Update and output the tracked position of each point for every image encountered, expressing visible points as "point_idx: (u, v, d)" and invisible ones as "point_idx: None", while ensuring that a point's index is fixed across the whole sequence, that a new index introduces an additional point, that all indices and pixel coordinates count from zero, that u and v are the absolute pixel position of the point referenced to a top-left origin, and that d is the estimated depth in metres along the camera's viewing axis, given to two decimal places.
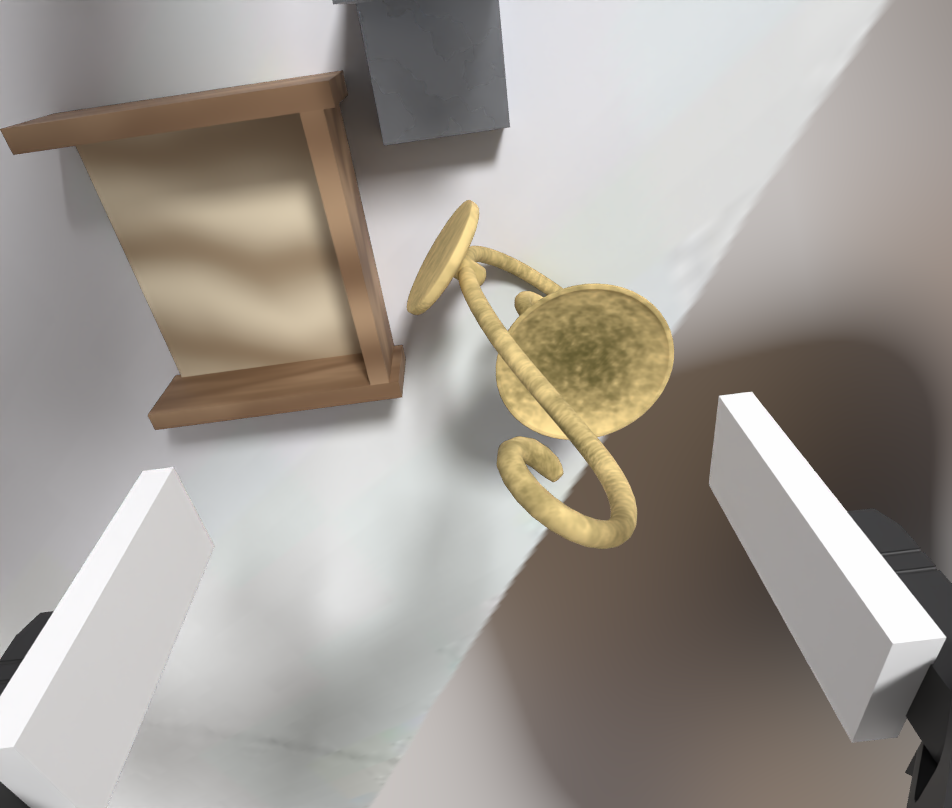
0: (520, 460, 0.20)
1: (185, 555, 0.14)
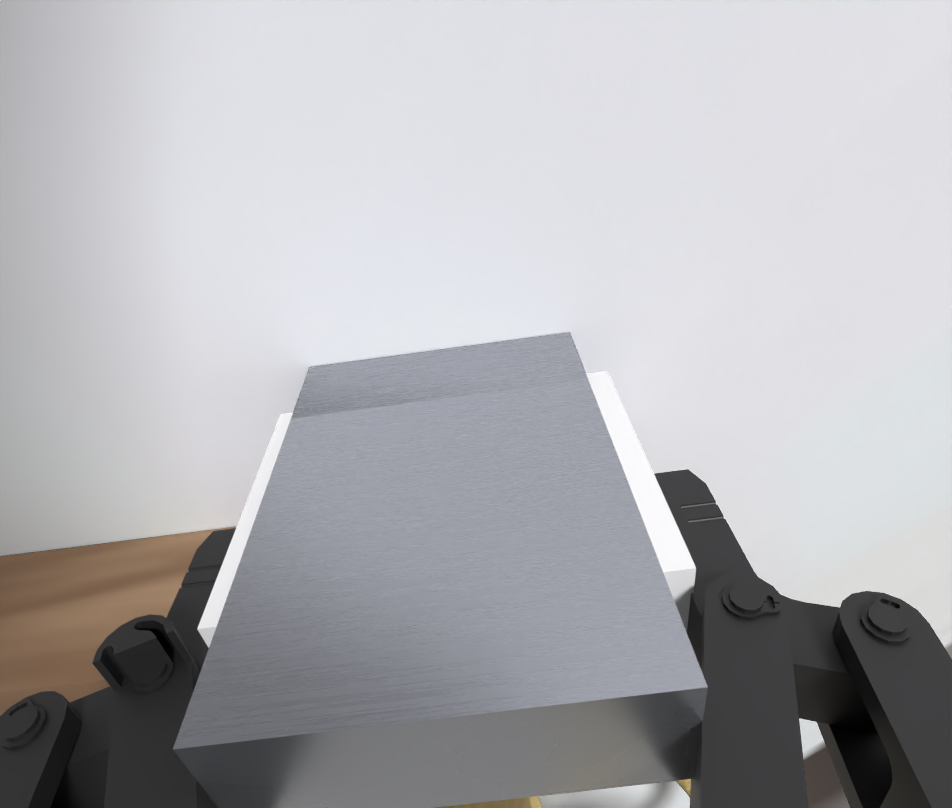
0: None
1: None
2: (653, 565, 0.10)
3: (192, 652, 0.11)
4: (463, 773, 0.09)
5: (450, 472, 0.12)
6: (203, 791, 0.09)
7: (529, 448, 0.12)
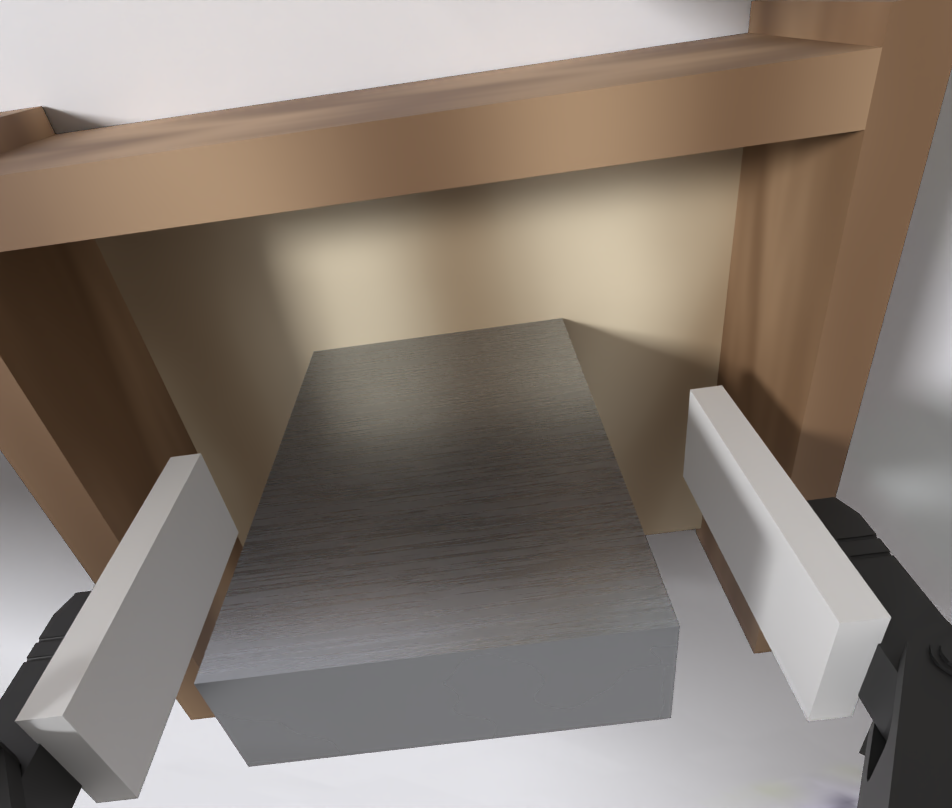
0: None
1: (212, 539, 0.15)
2: (634, 523, 0.10)
3: (17, 743, 0.10)
4: (458, 711, 0.10)
5: (447, 444, 0.13)
6: None
7: (521, 423, 0.13)
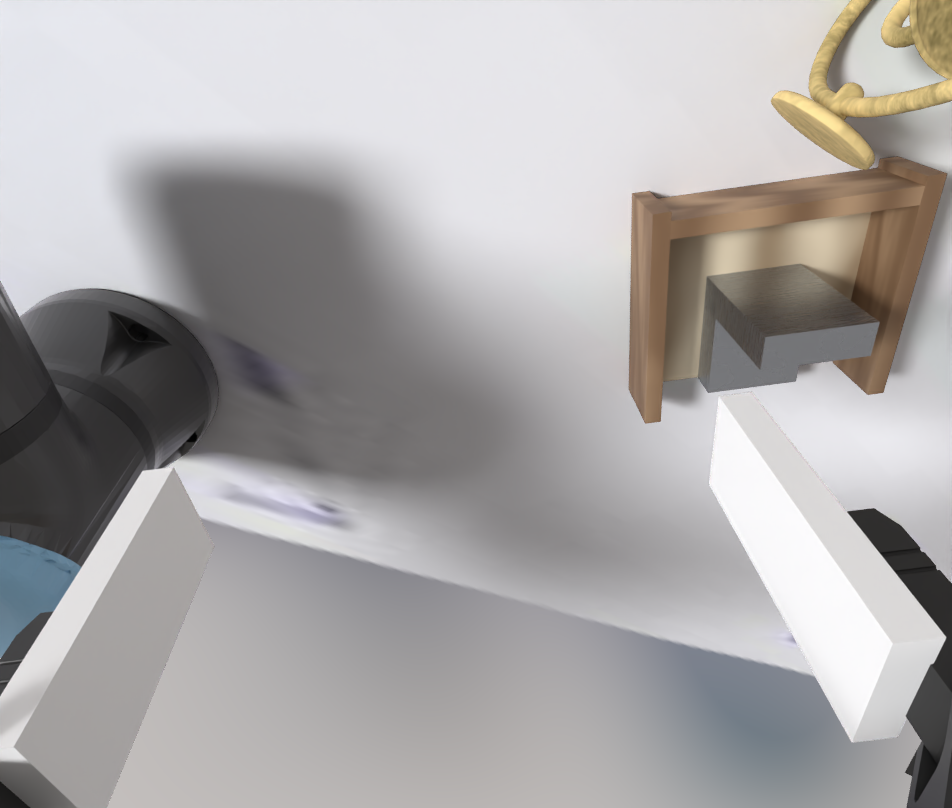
0: None
1: (185, 555, 0.14)
2: (859, 308, 0.39)
3: None
4: (820, 350, 0.39)
5: (788, 296, 0.42)
6: None
7: (809, 291, 0.42)
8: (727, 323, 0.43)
